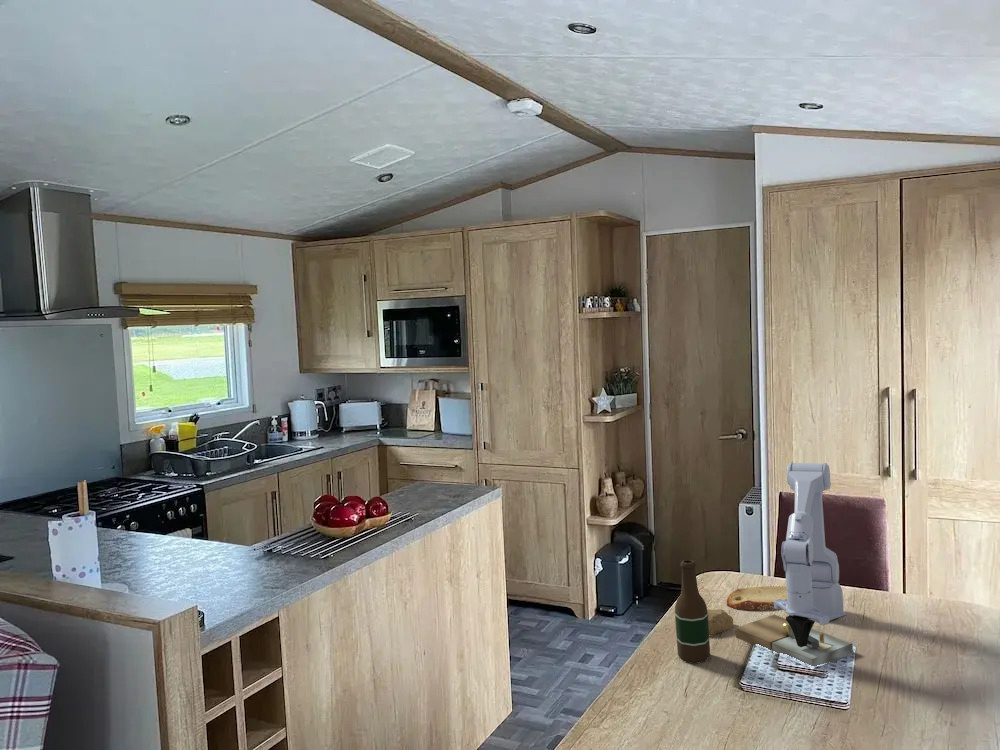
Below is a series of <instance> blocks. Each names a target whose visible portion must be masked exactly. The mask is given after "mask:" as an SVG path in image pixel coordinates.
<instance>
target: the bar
mask: <svg viewBox="0 0 1000 750" xmlns="http://www.w3.org/2000/svg"><path fill="white" fill-rule="evenodd" d="M782 631H783V635H786V636H791V637H793V638H795V636H794V633H793V631H792V629H791V627H790V625H789V624H788V622H787V621H785V622H782ZM807 646H808V647H810V648H812V649H813V648H818V647H819V640H817V639H815V638H813V637H812V636H810V635H809V637H808V642H807Z"/></svg>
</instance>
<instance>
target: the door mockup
mask: <svg viewBox="0 0 1000 750" xmlns="http://www.w3.org/2000/svg"><path fill="white" fill-rule="evenodd" d="M785 621H786V617H782V616H779V615H776V614H772V615H768V616H766V617H763V618H761V619H758V620H755V621H752V622H751V621H750V622H749V623H746V624H743V625H740V626H737V627H735V638H736V639H739V640H741V641H743V642H745V643H748V644H751V645H752V646H755V644H759V645H761V646H763V647H766V648H768V649H770V650H771V649H772V651H775V652H777V653H783V654H787V655H789V656H791V657H794V658H796V659H798V660H800V661H802V662H804V663H807V664H809V665H811V666H817V665H820V664H824V663H828V664H830V663H832V661H833V662H835V661H838V660H840V659H842V658H845V657H848V656H850V655H852V654H854V648H853V642H852V641H851V642H850V641H847V640H845V639H842V638H840V637H836V636H833V635H832V634H828V633H826V632H823V631H820V630H817V629H815V628H813V627H812V628H811V631H810V634H809V635H810V636H812V637H813V638H815V639H817V640H819V647H818V648H813V649H812V648H810V647H808V646H807V645H806V646H804V647H799V646H798V645H797V642H796V639H795V638H793V637H791V636H786V635H783V631H782V622H785ZM829 662H830V663H829Z"/></svg>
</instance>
